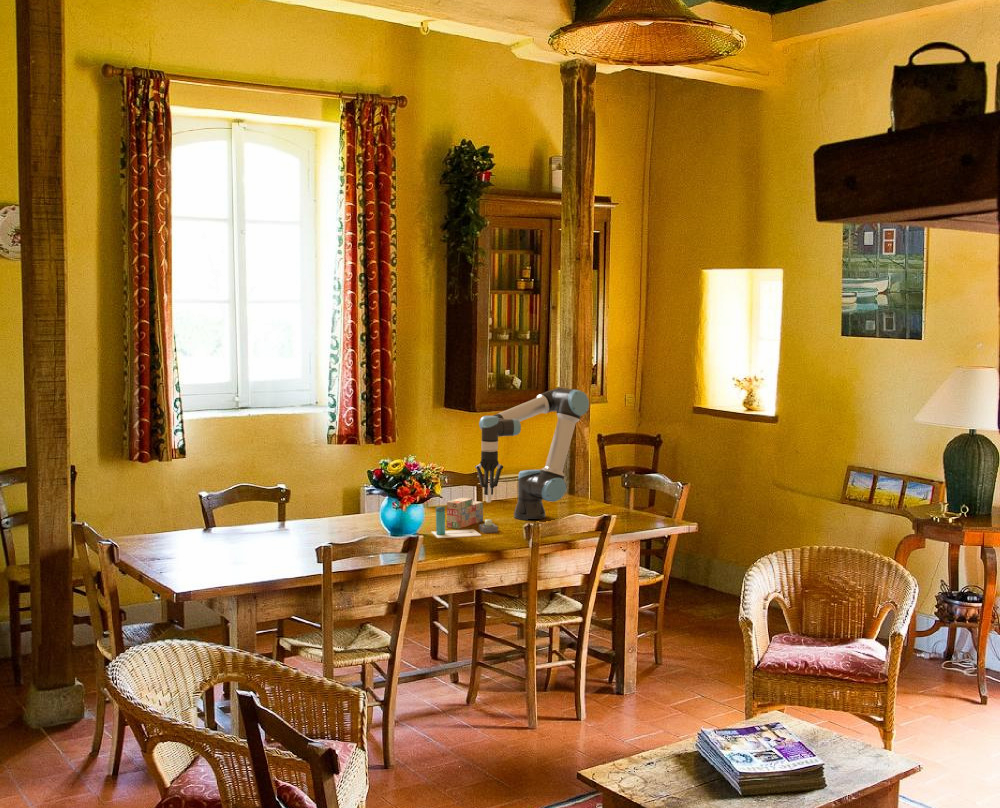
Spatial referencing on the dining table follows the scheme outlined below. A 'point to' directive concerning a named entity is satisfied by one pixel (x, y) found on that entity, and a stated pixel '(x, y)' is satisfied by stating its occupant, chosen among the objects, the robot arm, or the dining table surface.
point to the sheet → (457, 533)
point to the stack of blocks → (463, 512)
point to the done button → (488, 522)
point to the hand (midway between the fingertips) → (488, 501)
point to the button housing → (488, 528)
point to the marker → (440, 520)
